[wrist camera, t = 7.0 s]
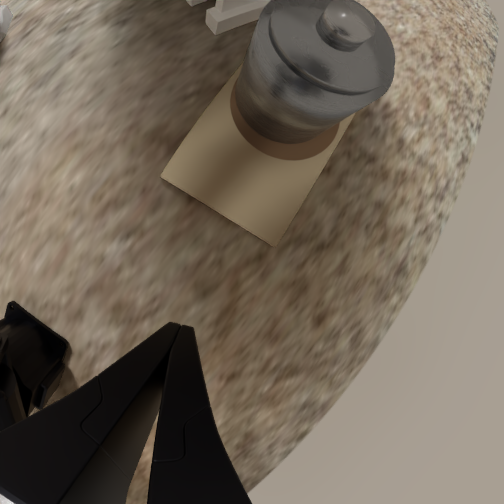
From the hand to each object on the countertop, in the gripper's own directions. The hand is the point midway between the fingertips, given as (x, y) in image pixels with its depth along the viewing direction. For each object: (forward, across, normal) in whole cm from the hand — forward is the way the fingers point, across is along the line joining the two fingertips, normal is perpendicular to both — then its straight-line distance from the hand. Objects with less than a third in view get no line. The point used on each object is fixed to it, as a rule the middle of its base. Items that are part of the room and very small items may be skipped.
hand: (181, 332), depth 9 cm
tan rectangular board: (+16, +2, +4) cm, 17 cm away
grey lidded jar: (+17, +2, +7) cm, 18 cm away
